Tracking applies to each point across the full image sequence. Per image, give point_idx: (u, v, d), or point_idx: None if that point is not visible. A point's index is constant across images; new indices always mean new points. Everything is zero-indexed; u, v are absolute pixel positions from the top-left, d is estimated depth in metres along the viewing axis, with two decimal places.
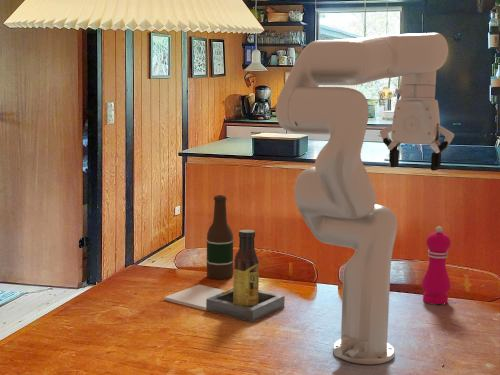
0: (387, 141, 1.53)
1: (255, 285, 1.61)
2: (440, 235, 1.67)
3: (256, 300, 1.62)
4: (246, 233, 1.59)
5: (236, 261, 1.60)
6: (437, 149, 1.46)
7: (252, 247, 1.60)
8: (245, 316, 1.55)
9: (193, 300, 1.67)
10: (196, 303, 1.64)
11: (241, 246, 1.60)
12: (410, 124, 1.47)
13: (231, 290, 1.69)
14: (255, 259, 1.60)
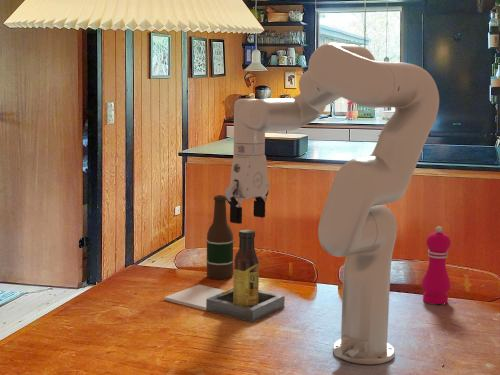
0: (234, 199, 1.54)
1: (255, 285, 1.61)
2: (440, 235, 1.67)
3: (256, 300, 1.62)
4: (246, 233, 1.59)
5: (236, 261, 1.60)
6: (265, 198, 1.64)
7: (252, 247, 1.60)
8: (245, 316, 1.55)
9: (193, 300, 1.67)
10: (196, 303, 1.64)
11: (241, 246, 1.60)
12: (257, 180, 1.57)
13: (231, 290, 1.69)
14: (255, 259, 1.60)
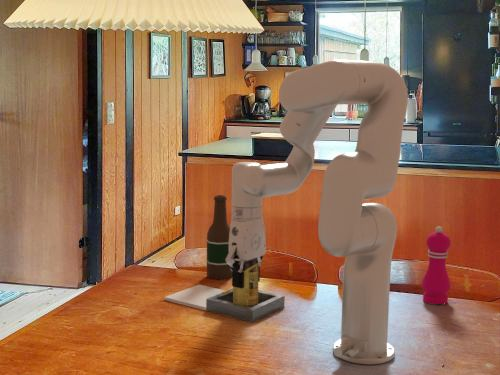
0: (236, 265, 1.57)
1: (255, 285, 1.61)
2: (440, 235, 1.67)
3: (256, 300, 1.62)
4: None
5: None
6: (260, 262, 1.65)
7: None
8: (245, 316, 1.55)
9: (193, 300, 1.67)
10: (196, 303, 1.64)
11: None
12: (255, 242, 1.59)
13: (231, 290, 1.69)
14: (254, 259, 1.60)
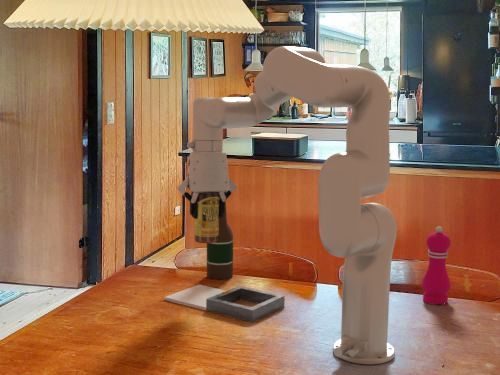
0: (189, 195, 1.64)
1: (208, 218, 1.65)
2: (440, 235, 1.67)
3: (211, 233, 1.65)
4: None
5: None
6: (224, 198, 1.67)
7: None
8: (245, 316, 1.55)
9: (193, 300, 1.67)
10: (196, 303, 1.64)
11: None
12: (209, 175, 1.63)
13: (231, 290, 1.69)
14: (210, 192, 1.64)
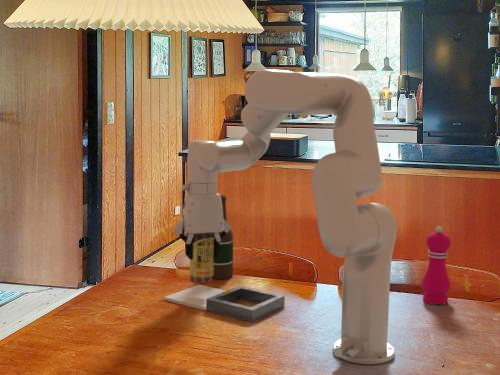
0: (184, 236, 1.67)
1: (203, 258, 1.67)
2: (440, 235, 1.67)
3: (206, 273, 1.68)
4: None
5: None
6: (219, 239, 1.70)
7: None
8: (245, 316, 1.55)
9: (193, 300, 1.67)
10: (196, 303, 1.64)
11: None
12: (204, 217, 1.66)
13: (231, 290, 1.69)
14: (205, 234, 1.67)
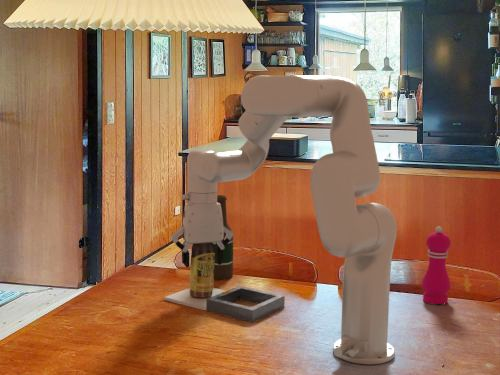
0: (180, 244, 1.67)
1: (204, 273, 1.67)
2: (440, 235, 1.67)
3: (206, 288, 1.68)
4: None
5: None
6: (222, 246, 1.70)
7: None
8: (245, 316, 1.55)
9: (193, 300, 1.67)
10: (196, 303, 1.64)
11: None
12: (204, 227, 1.66)
13: (231, 290, 1.69)
14: (205, 249, 1.67)
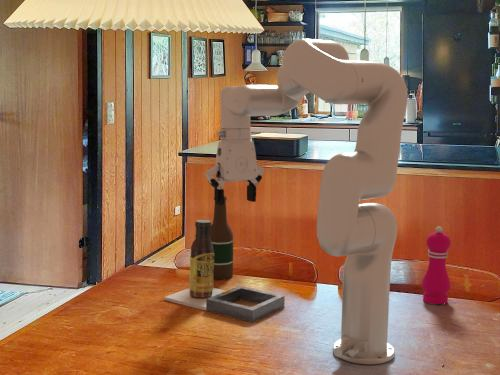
0: (215, 181, 1.62)
1: (203, 273, 1.67)
2: (440, 235, 1.67)
3: (206, 288, 1.68)
4: (198, 222, 1.67)
5: (191, 248, 1.70)
6: (256, 183, 1.69)
7: (204, 237, 1.67)
8: (245, 316, 1.55)
9: (193, 300, 1.67)
10: (196, 303, 1.64)
11: None
12: (241, 164, 1.64)
13: (231, 290, 1.69)
14: (205, 249, 1.67)
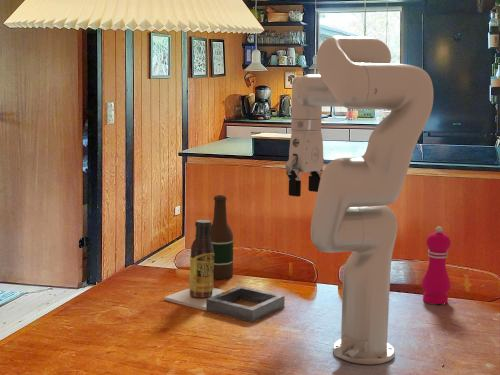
0: (294, 173, 1.60)
1: (203, 273, 1.67)
2: (440, 235, 1.67)
3: (206, 288, 1.68)
4: (198, 222, 1.67)
5: (191, 248, 1.70)
6: (320, 173, 1.69)
7: (204, 237, 1.67)
8: (245, 316, 1.55)
9: (193, 300, 1.67)
10: (196, 303, 1.64)
11: None
12: (315, 154, 1.63)
13: (231, 290, 1.69)
14: (205, 249, 1.67)
